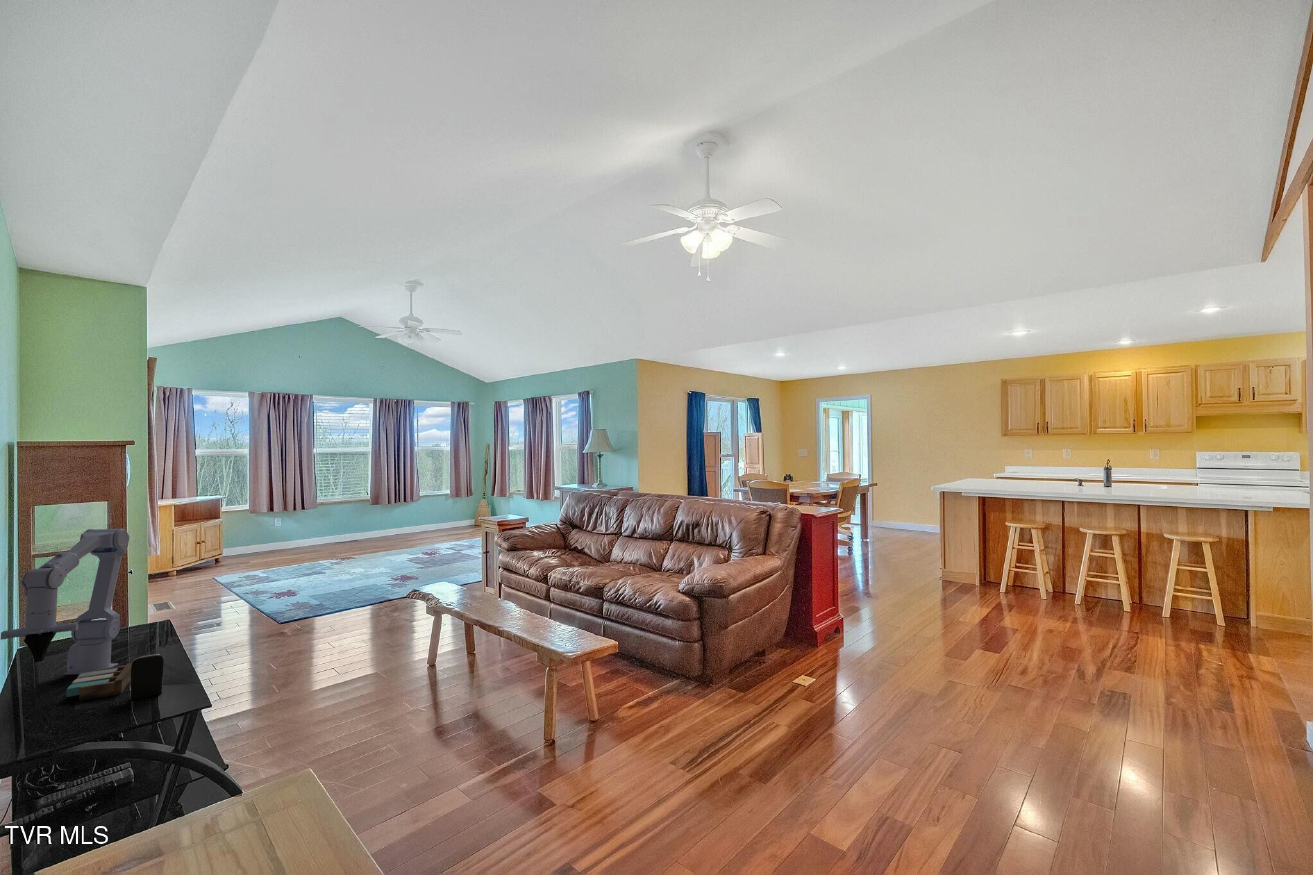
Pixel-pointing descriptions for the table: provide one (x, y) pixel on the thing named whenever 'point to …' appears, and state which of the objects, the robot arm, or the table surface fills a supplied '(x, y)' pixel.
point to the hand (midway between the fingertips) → (39, 660)
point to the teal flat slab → (75, 688)
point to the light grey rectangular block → (84, 675)
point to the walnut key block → (107, 684)
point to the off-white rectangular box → (91, 678)
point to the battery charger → (146, 676)
